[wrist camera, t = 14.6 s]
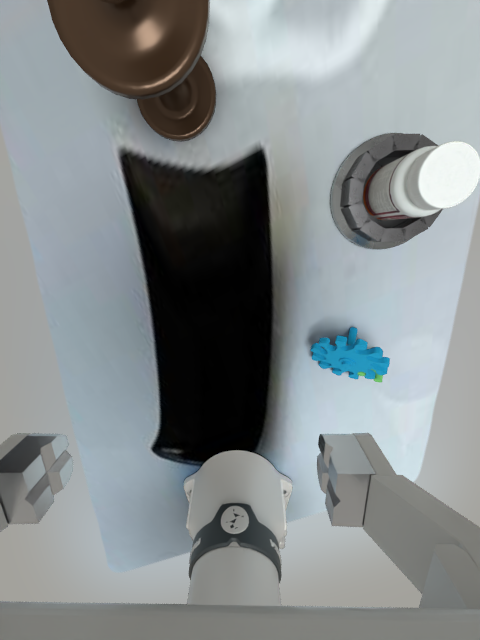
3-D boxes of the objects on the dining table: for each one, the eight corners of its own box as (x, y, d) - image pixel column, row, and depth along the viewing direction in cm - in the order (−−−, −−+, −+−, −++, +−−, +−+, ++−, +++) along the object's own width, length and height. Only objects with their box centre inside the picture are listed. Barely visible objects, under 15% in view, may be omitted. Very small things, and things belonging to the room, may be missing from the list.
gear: (294, 353, 40) (351, 338, 32) (304, 320, 43) (360, 298, 34) (347, 389, 43) (412, 383, 35) (353, 356, 46) (414, 343, 38)
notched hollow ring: (425, 248, 37) (446, 249, 33) (326, 249, 37) (335, 251, 33) (445, 134, 33) (471, 121, 29) (334, 137, 33) (346, 124, 29)
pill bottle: (422, 184, 34) (505, 161, 23) (388, 230, 35) (451, 228, 24) (382, 154, 33) (449, 115, 22) (349, 202, 34) (397, 188, 24)
